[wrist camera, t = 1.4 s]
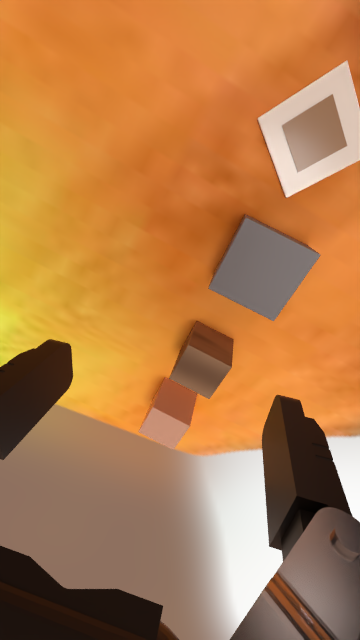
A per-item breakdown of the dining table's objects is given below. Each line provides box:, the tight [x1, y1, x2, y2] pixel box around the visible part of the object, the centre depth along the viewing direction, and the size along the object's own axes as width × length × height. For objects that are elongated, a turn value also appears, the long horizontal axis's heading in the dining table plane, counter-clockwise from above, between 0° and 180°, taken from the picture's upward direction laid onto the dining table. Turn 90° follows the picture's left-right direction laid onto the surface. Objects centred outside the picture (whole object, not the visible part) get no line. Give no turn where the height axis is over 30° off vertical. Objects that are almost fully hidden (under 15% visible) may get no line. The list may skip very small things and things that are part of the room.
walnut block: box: [169, 321, 233, 399], centre depth 31 cm, size 5×5×6 cm
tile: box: [258, 61, 360, 198], centre depth 23 cm, size 7×7×1 cm
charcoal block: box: [209, 214, 320, 321], centre depth 26 cm, size 7×7×5 cm
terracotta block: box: [139, 377, 197, 449], centre depth 36 cm, size 5×5×6 cm
